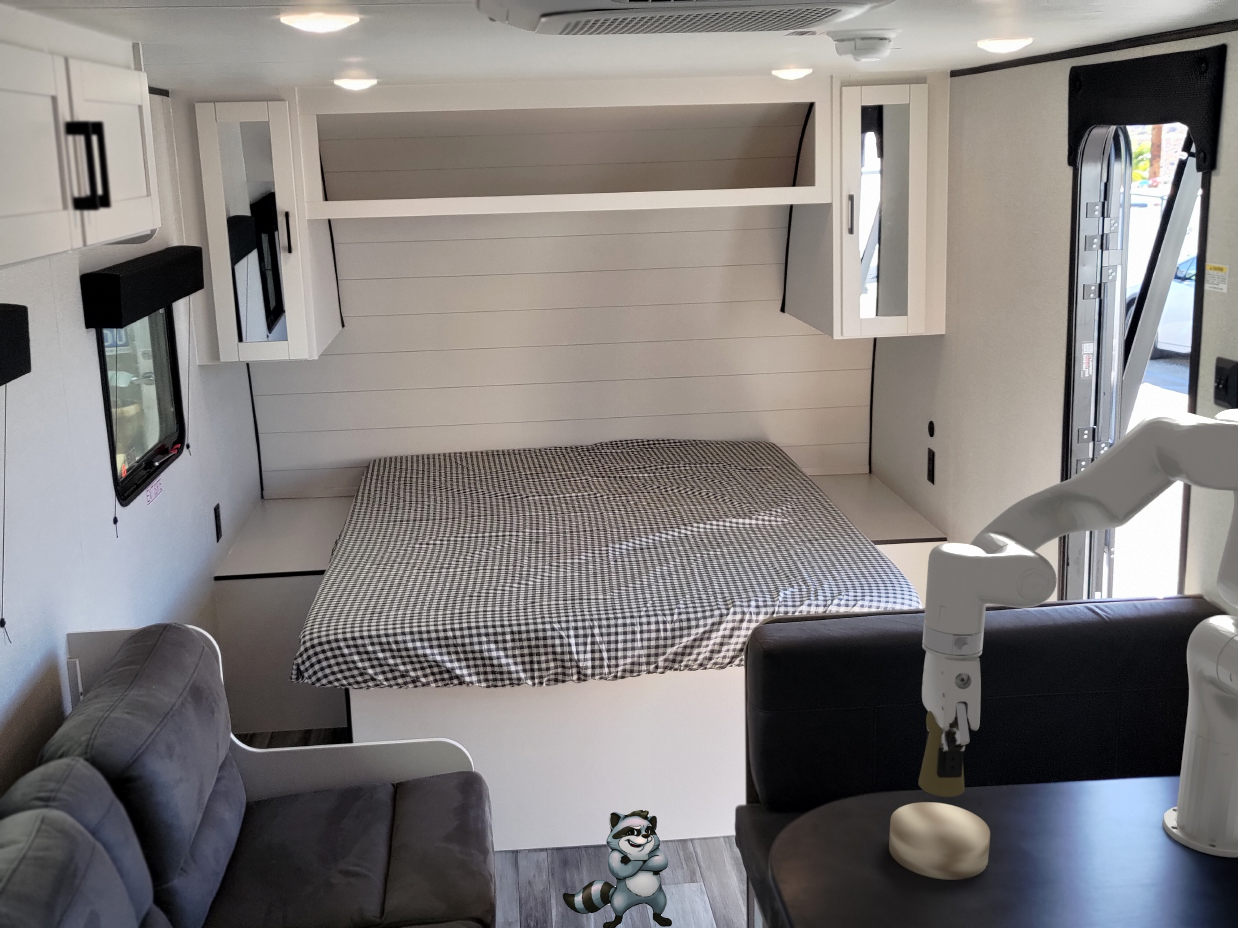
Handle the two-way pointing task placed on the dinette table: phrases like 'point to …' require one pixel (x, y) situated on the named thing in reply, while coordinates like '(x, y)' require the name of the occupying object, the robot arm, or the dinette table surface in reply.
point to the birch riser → (939, 840)
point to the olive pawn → (929, 766)
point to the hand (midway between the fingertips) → (943, 766)
